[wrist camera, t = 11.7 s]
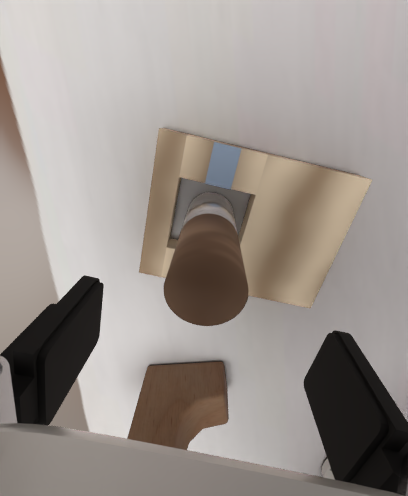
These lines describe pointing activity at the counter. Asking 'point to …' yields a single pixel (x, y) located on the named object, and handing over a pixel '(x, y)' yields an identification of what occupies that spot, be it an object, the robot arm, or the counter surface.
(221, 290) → the two-tone cylinder
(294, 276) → the board
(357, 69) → the counter surface
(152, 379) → the wooden block
